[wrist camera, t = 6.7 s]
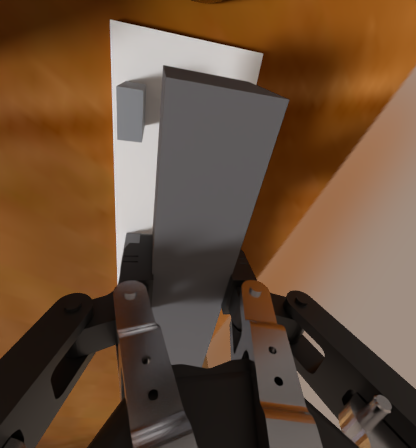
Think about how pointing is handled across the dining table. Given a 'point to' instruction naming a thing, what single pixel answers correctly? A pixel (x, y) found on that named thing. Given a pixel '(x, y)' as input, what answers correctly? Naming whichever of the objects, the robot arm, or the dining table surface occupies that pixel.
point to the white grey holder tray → (153, 111)
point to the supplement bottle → (207, 1)
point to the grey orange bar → (205, 198)
